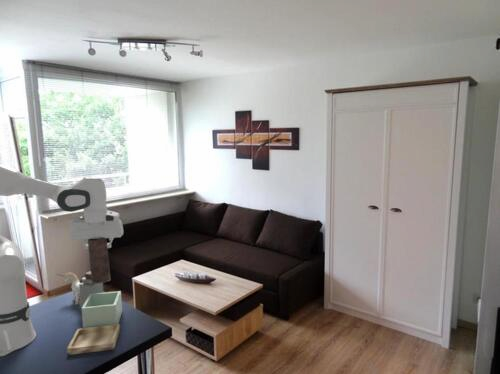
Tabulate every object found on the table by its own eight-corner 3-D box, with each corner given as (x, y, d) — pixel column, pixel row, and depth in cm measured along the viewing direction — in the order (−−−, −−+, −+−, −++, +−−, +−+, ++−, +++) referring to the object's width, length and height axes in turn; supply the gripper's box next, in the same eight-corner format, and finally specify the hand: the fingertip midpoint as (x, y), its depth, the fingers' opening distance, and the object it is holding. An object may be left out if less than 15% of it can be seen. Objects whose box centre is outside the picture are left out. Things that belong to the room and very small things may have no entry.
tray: (67, 355, 122) (67, 348, 122) (78, 334, 135) (77, 328, 134) (114, 349, 125) (113, 343, 125) (120, 329, 138) (119, 324, 137)
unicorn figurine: (72, 293, 170) (69, 268, 168) (97, 302, 160) (94, 276, 158) (58, 299, 164) (55, 273, 162) (83, 309, 154) (80, 282, 152)
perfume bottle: (93, 314, 150) (90, 276, 147) (81, 312, 152) (78, 274, 149) (104, 307, 156) (101, 270, 153) (92, 305, 158) (89, 268, 155)
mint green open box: (83, 331, 137) (81, 308, 135) (91, 314, 149) (89, 293, 148) (117, 327, 139) (115, 305, 138) (122, 311, 152) (120, 291, 151)
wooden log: (103, 286, 137) (99, 239, 134) (87, 285, 139) (83, 238, 136) (114, 278, 145) (110, 234, 142) (99, 277, 146) (95, 233, 143)
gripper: (65, 219, 132) (68, 252, 134) (120, 216, 136) (122, 249, 138) (70, 215, 138) (73, 247, 140) (123, 213, 142) (124, 244, 145)
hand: (98, 248), depth 139 cm, fingers closed on wooden log, 7 cm apart
